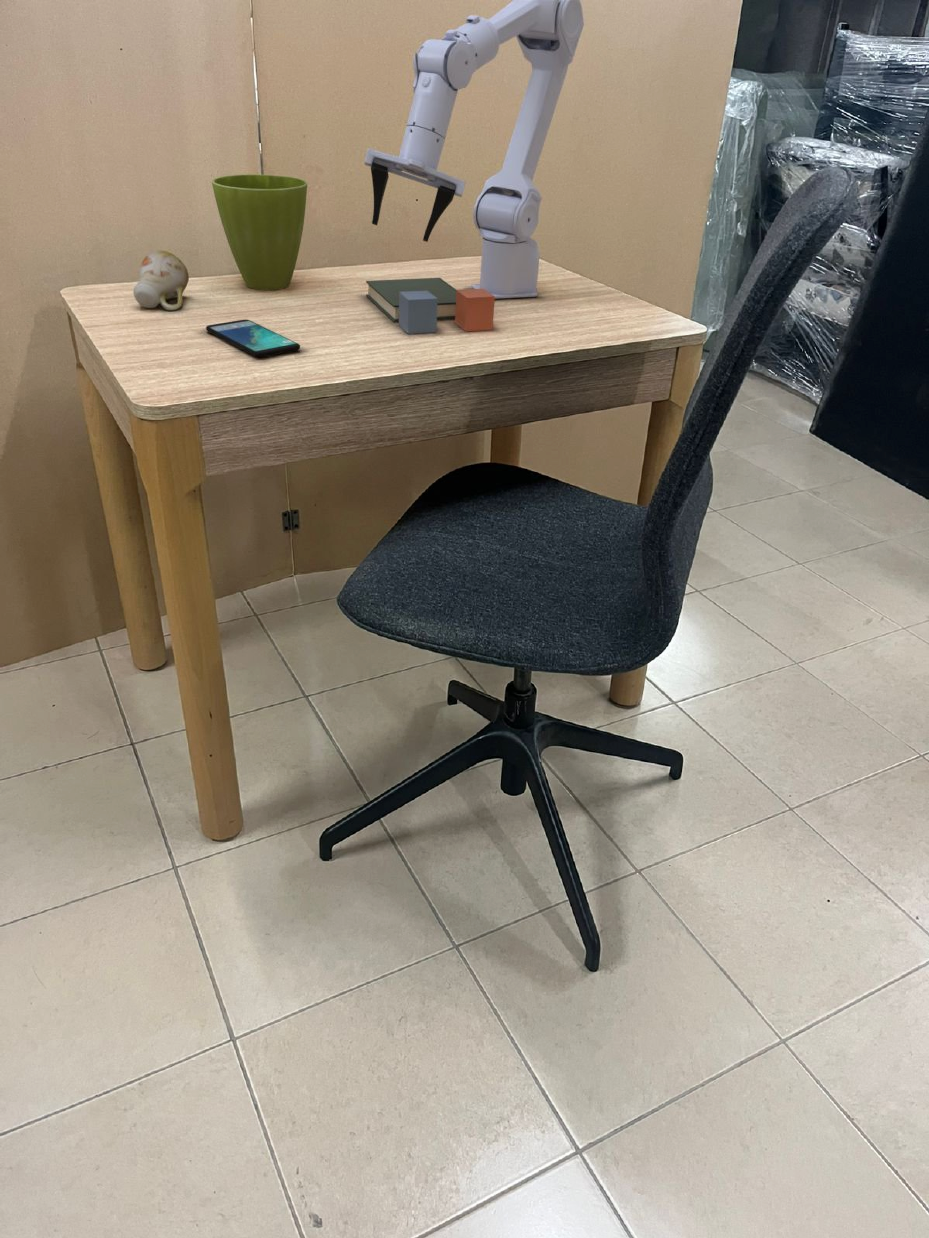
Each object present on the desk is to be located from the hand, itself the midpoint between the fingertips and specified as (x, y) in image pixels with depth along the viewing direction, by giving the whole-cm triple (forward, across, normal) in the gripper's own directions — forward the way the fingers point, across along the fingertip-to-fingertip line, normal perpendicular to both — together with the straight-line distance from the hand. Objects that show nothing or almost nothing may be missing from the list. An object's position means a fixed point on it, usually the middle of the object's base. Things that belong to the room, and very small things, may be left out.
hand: (399, 232), depth 132 cm
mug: (+20, -33, +9) cm, 40 cm away
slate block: (+12, +6, +1) cm, 14 cm away
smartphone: (+21, -16, -8) cm, 27 cm away
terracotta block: (+9, +14, +3) cm, 17 cm away
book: (+9, +5, +12) cm, 16 cm away
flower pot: (+12, -20, +22) cm, 32 cm away
